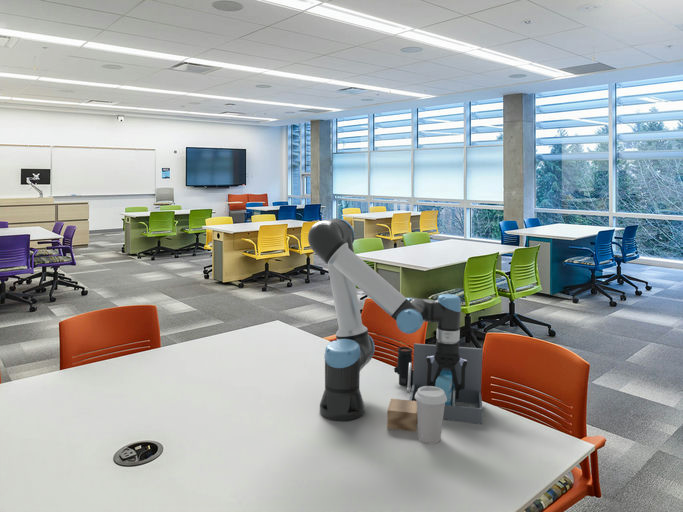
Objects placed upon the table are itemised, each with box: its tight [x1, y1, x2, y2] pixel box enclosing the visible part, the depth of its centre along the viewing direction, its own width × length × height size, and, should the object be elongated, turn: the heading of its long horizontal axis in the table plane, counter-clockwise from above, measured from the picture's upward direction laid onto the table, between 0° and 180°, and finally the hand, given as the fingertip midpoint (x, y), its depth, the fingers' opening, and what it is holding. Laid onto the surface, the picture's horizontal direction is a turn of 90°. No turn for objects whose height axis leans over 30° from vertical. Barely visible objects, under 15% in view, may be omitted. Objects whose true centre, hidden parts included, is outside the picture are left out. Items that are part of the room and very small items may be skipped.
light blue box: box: [435, 370, 455, 405], centre depth 172 cm, size 12×4×12 cm, turn 157°
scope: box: [393, 346, 413, 387], centre depth 194 cm, size 8×14×10 cm
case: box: [406, 343, 484, 425], centre depth 171 cm, size 25×16×20 cm, turn 77°
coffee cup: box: [414, 386, 447, 445], centre depth 152 cm, size 10×10×15 cm
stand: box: [386, 398, 418, 433], centre depth 162 cm, size 9×9×6 cm
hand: (444, 406), depth 172 cm, fingers closed on light blue box, 5 cm apart
